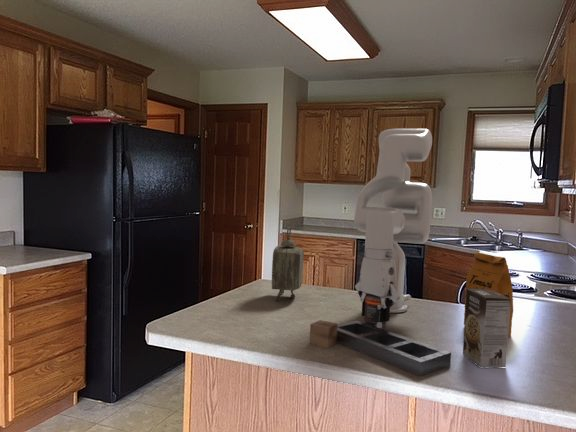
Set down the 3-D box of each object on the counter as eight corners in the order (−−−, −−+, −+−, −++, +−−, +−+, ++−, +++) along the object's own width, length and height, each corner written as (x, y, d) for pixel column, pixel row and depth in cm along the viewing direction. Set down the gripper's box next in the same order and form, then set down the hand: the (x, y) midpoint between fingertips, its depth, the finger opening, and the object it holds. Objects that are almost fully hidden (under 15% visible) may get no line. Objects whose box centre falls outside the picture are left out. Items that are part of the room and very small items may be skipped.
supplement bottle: (385, 333, 128) (387, 292, 127) (363, 331, 129) (365, 290, 128) (385, 326, 134) (387, 287, 133) (364, 324, 135) (366, 285, 134)
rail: (326, 337, 122) (327, 326, 122) (356, 331, 129) (357, 320, 129) (420, 376, 99) (420, 362, 99) (450, 365, 106) (451, 352, 106)
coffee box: (461, 354, 114) (465, 288, 113) (486, 354, 115) (491, 288, 114) (479, 368, 105) (484, 297, 104) (507, 368, 106) (512, 297, 105)
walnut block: (319, 338, 121) (320, 319, 121) (336, 343, 119) (337, 323, 118) (309, 344, 117) (310, 324, 117) (327, 348, 115) (328, 328, 114)
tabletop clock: (277, 292, 172) (280, 224, 170) (302, 294, 170) (305, 225, 169) (270, 302, 157) (273, 227, 156) (297, 304, 156) (300, 229, 155)
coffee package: (487, 339, 126) (493, 258, 125) (458, 326, 138) (463, 251, 137) (518, 337, 129) (523, 258, 128) (486, 324, 141) (491, 251, 139)
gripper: (412, 258, 125) (408, 324, 127) (364, 249, 139) (361, 309, 140) (394, 260, 121) (390, 329, 122) (346, 250, 134) (343, 312, 136)
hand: (375, 317), depth 131 cm, fingers closed on supplement bottle, 6 cm apart
